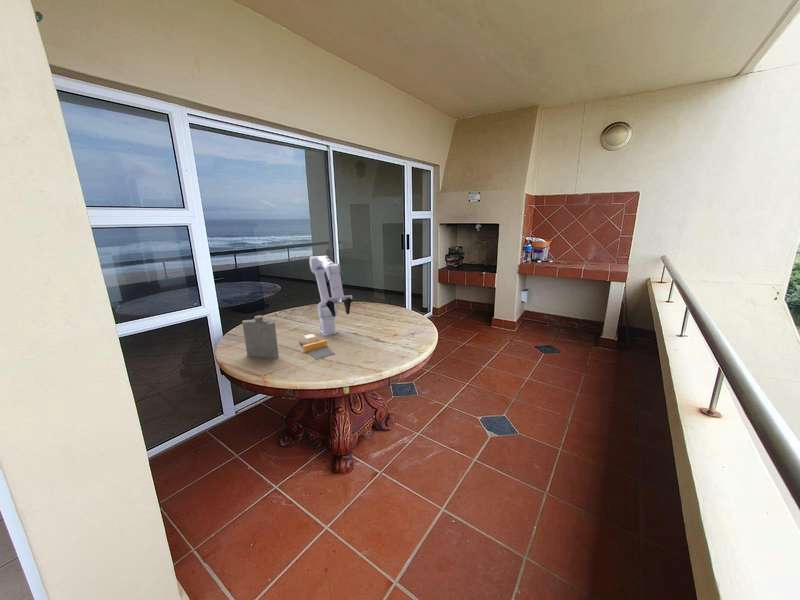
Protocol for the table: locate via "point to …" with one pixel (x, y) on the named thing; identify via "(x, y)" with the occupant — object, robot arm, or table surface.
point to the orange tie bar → (314, 345)
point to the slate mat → (321, 353)
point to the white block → (309, 338)
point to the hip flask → (260, 338)
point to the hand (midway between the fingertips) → (341, 315)
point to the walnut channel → (304, 343)
